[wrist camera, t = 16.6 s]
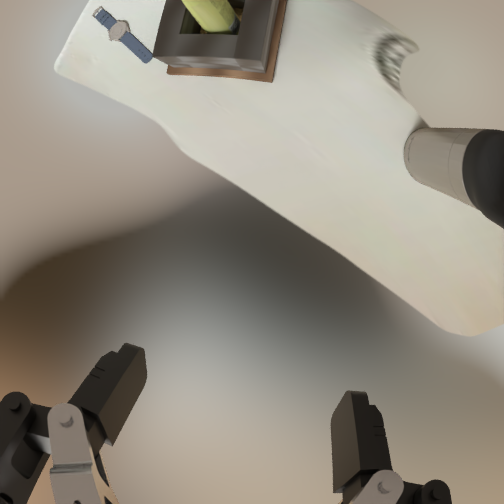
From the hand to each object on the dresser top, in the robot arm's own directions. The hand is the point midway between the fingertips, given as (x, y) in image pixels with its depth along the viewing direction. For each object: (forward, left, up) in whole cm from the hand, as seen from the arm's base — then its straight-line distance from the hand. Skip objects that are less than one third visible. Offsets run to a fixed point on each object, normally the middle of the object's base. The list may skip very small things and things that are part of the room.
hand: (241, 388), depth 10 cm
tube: (+12, -25, -34) cm, 43 cm away
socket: (+12, -25, -36) cm, 46 cm away
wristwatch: (+32, -26, -37) cm, 55 cm away
